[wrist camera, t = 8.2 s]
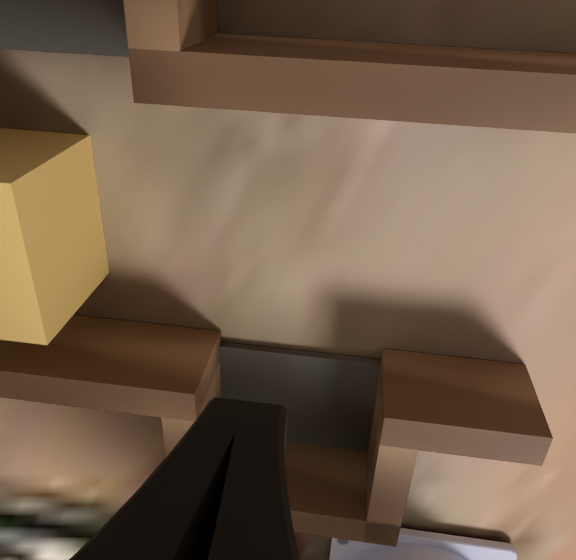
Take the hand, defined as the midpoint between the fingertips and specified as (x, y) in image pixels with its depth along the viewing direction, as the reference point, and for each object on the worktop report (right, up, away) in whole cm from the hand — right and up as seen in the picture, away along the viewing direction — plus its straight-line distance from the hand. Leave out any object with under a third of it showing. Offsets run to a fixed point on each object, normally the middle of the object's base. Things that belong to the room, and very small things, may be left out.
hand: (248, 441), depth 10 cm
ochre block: (-8, +6, +9) cm, 13 cm away
